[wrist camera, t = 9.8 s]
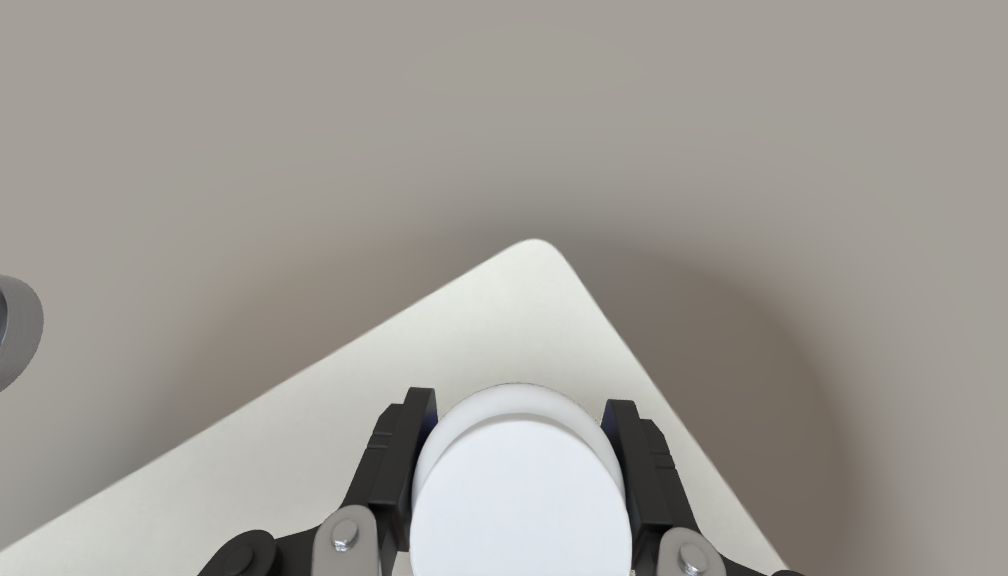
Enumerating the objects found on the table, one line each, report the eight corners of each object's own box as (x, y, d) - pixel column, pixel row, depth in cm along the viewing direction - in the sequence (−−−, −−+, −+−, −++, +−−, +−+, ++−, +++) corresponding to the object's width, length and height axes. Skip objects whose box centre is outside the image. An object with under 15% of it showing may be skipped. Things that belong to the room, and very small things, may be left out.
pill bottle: (513, 547, 15) (518, 841, 5) (426, 444, 16) (304, 539, 6) (604, 448, 16) (744, 552, 6) (516, 356, 17) (524, 326, 7)
